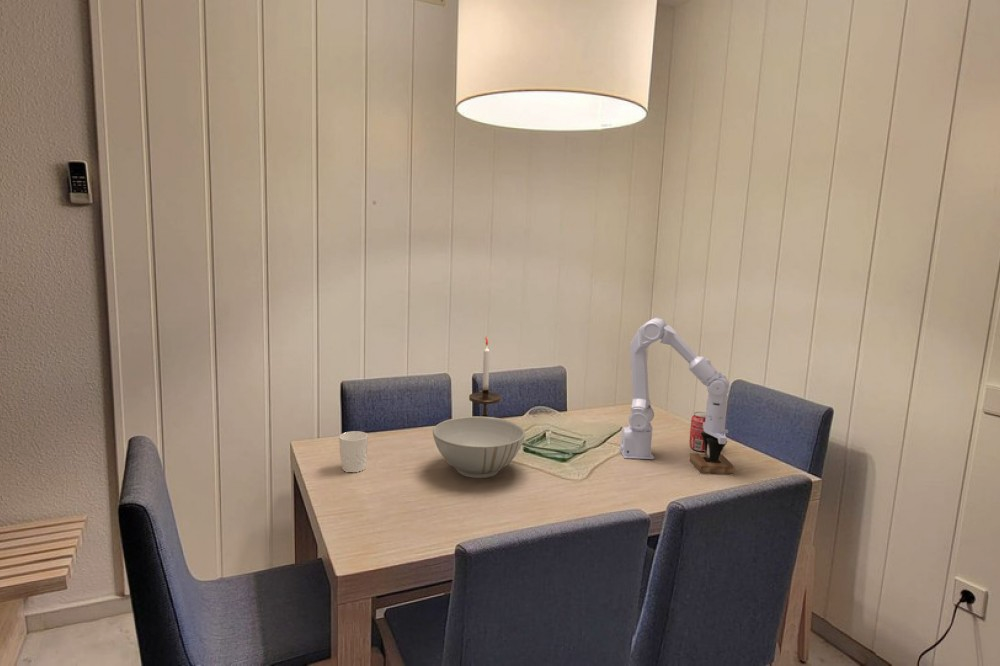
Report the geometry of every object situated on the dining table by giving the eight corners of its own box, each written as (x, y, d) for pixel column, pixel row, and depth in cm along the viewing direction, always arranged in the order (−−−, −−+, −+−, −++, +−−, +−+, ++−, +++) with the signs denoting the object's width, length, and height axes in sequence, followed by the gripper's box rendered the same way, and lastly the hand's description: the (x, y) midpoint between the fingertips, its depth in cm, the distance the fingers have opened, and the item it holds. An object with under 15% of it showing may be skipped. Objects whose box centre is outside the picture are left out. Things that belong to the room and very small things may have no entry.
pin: (708, 465, 177) (710, 446, 176) (704, 461, 180) (705, 443, 179) (717, 465, 178) (719, 446, 177) (713, 461, 181) (715, 443, 180)
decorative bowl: (514, 494, 156) (516, 451, 154) (419, 482, 162) (419, 441, 160) (530, 457, 182) (531, 420, 180) (447, 449, 188) (447, 412, 186)
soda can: (708, 445, 198) (711, 411, 196) (713, 453, 191) (716, 418, 189) (686, 444, 199) (689, 410, 197) (691, 452, 192) (694, 416, 190)
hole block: (700, 473, 174) (700, 465, 174) (689, 460, 184) (690, 453, 184) (733, 474, 174) (734, 466, 174) (721, 461, 184) (721, 454, 184)
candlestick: (464, 433, 203) (467, 333, 197) (494, 431, 206) (497, 333, 201) (472, 444, 193) (475, 339, 187) (504, 441, 196) (507, 338, 190)
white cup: (333, 470, 168) (333, 437, 167) (352, 461, 175) (352, 429, 173) (355, 476, 165) (354, 442, 163) (373, 467, 172) (373, 434, 170)
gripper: (738, 423, 169) (734, 468, 171) (720, 409, 184) (716, 450, 186) (714, 422, 169) (710, 467, 171) (697, 408, 184) (694, 449, 186)
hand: (711, 458), depth 179 cm, fingers closed on pin, 3 cm apart
